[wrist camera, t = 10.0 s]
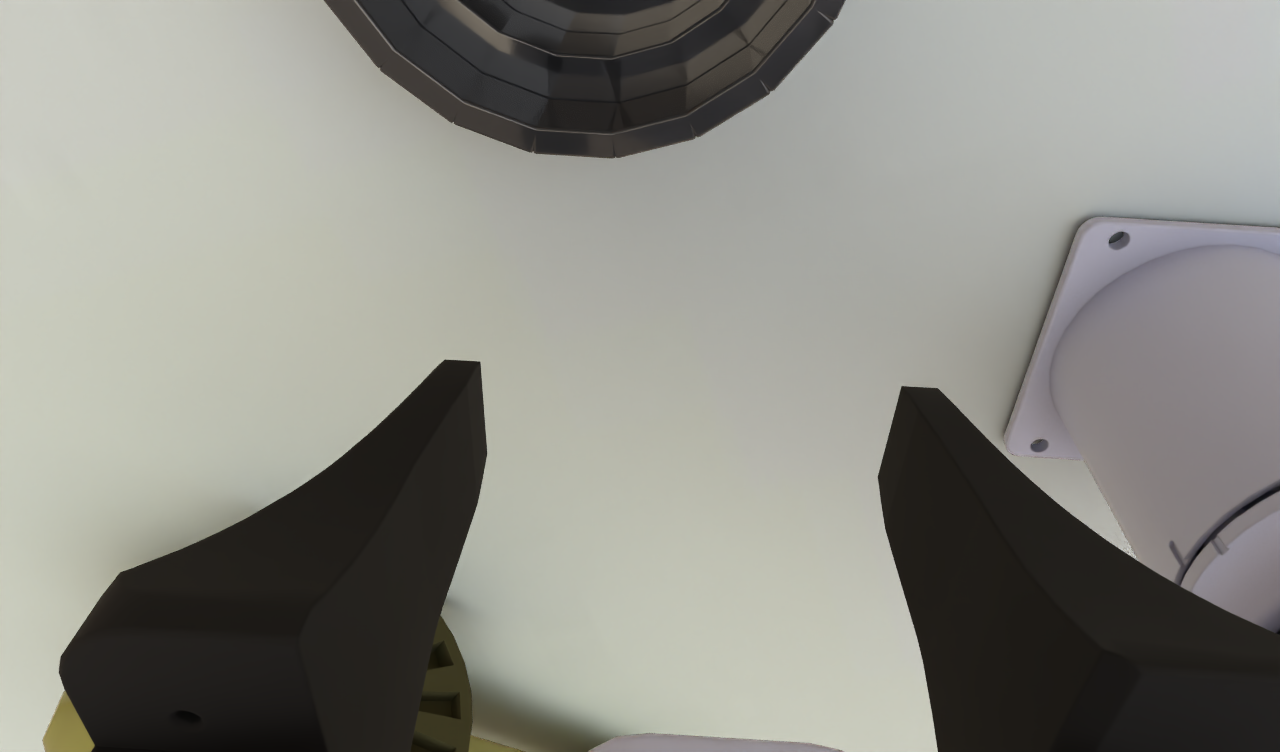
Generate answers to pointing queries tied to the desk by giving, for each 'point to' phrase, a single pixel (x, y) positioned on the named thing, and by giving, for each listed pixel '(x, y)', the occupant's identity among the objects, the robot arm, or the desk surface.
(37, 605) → the desk surface
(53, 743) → the cannon
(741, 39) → the bowl
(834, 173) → the desk surface
